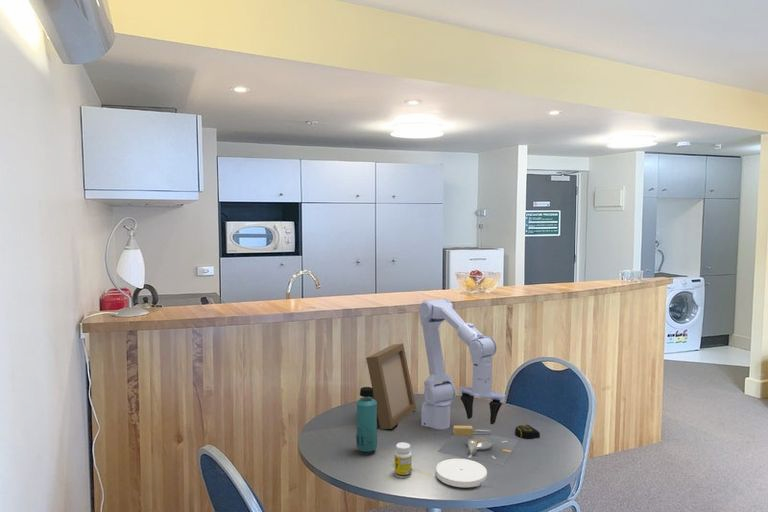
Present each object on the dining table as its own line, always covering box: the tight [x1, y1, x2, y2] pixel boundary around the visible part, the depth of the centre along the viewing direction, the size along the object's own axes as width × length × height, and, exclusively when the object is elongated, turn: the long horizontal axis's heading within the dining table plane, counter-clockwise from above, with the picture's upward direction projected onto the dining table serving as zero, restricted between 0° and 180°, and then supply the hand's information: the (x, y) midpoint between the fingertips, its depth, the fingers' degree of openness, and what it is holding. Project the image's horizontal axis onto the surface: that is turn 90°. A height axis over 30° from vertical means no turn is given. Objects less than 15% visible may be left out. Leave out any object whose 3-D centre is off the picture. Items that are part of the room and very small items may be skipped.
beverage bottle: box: [355, 386, 378, 452], centre depth 164 cm, size 6×7×20 cm
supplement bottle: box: [394, 441, 413, 479], centre depth 150 cm, size 5×5×8 cm
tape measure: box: [514, 424, 541, 440], centre depth 176 cm, size 7×7×4 cm
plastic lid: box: [435, 458, 488, 488], centre depth 148 cm, size 14×14×2 cm
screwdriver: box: [452, 425, 492, 436], centre depth 176 cm, size 12×2×2 cm, turn 88°
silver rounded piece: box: [466, 436, 492, 455], centre depth 165 cm, size 12×8×4 cm, turn 153°
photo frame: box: [365, 343, 417, 430], centre depth 193 cm, size 15×22×25 cm
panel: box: [436, 432, 519, 467], centre depth 167 cm, size 20×20×1 cm
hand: (481, 420), depth 165 cm, fingers open, 7 cm apart
